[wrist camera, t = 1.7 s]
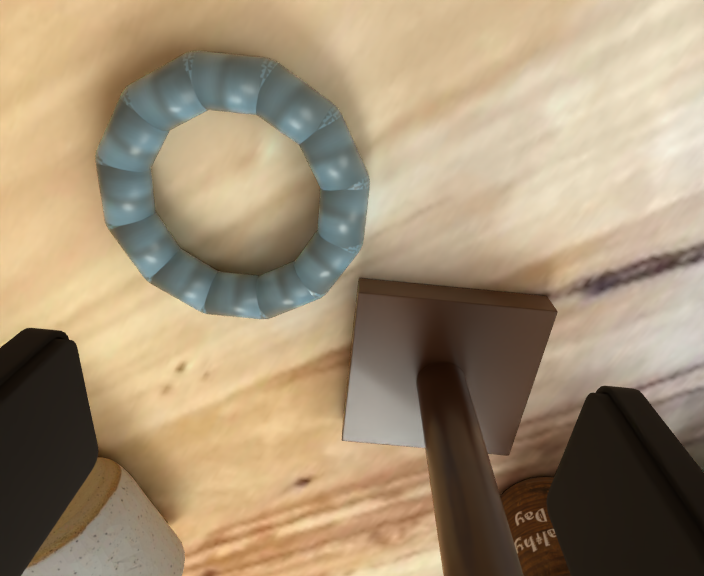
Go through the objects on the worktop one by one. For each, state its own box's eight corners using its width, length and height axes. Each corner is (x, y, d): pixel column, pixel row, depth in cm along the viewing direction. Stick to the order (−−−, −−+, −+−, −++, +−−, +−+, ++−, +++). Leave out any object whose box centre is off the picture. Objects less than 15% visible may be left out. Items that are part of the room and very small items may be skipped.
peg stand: (342, 421, 26) (319, 779, 14) (358, 277, 22) (347, 597, 9) (501, 435, 27) (629, 804, 14) (546, 295, 22) (789, 634, 10)
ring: (130, 292, 23) (110, 313, 21) (94, 38, 18) (64, 38, 16) (354, 313, 23) (353, 336, 21) (381, 68, 18) (383, 70, 16)
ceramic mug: (137, 434, 27) (57, 565, 20) (204, 523, 31) (154, 661, 24) (-8, 471, 29) (-125, 602, 22) (69, 551, 33) (-12, 685, 26)
